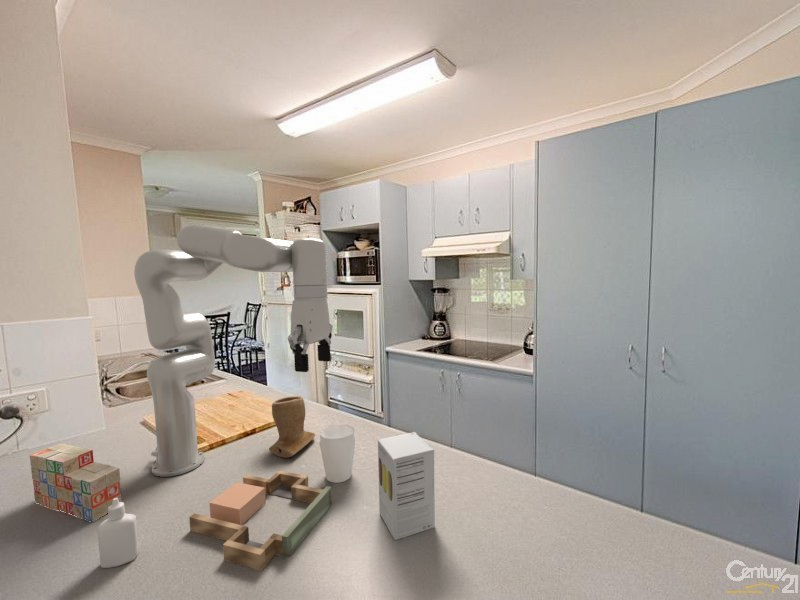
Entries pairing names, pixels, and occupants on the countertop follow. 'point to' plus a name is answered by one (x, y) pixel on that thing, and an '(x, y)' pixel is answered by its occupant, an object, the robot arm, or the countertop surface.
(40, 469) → the stack of blocks
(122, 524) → the eye dropper bottle
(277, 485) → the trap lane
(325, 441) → the cup
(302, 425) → the stone cup
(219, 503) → the block
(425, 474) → the supplement box
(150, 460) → the countertop surface
